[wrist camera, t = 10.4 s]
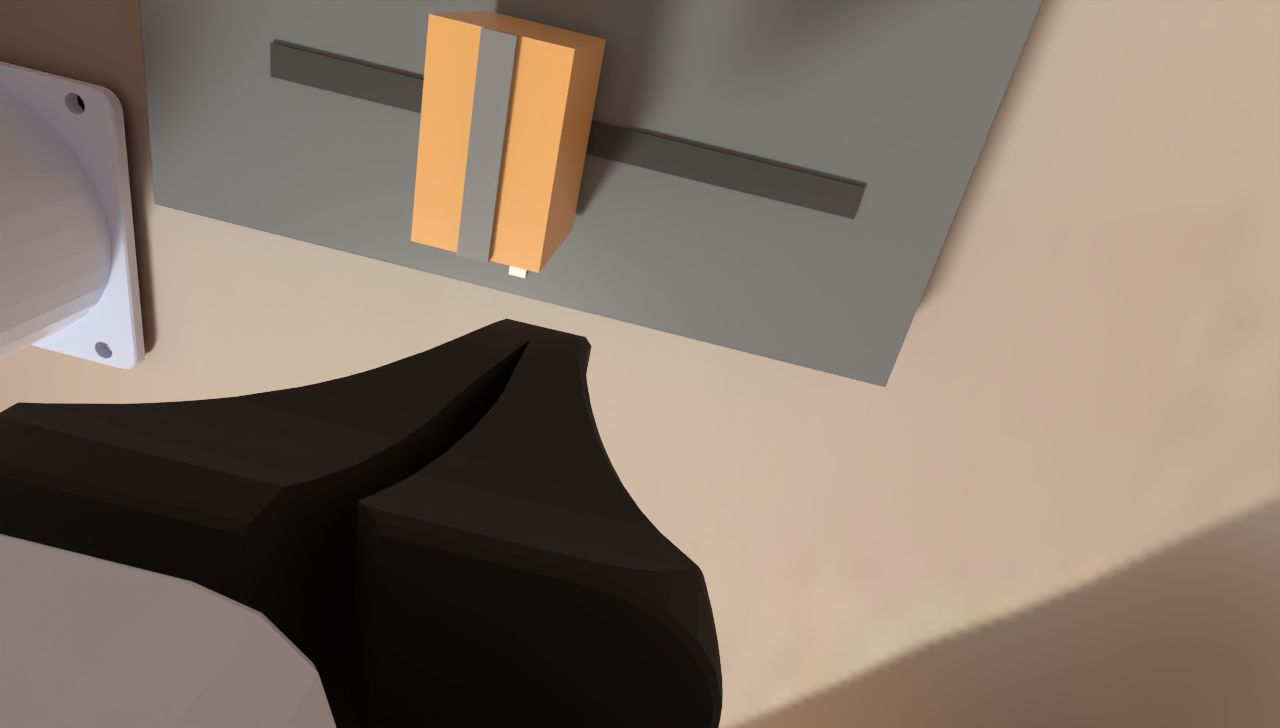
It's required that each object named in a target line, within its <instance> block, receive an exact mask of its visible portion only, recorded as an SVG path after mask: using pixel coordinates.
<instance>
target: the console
mask: <svg viewBox="0 0 1280 728" xmlns="http://www.w3.org/2000/svg"><path fill="white" fill-rule="evenodd" d="M1041 2H1042V0H139V3H140V16H141V30H142V43H143V56H144V69H145V82H146V96H147V109H148V122H149V135H150V148H151V162H152V175H153V188H154V201H155V204H157V205H161V206H165V207H169V208H173V209H177V210H181V211H185V212H189V213H193V214H197V215H201V216H205V217H209V218H213V219H217V220H221V221H225V222H229V223H233V224H236V225H240V226H244V227H248V228H252V229H256V230H260V231H264V232H268V233H272V234H276V235H280V236H284V237H288V238H292V239H296V240H300V241H304V242H308V243H312V244H316V245H320V246H324V247H328V248H332V249H336V250H340V251H344V252H348V253H352V254H356V255H360V256H364V257H368V258H372V259H376V260H380V261H384V262H388V263H392V264H396V265H400V266H404V267H408V268H412V269H416V270H420V271H424V272H428V273H432V274H436V275H440V276H444V277H448V278H452V279H456V280H460V281H464V282H468V283H472V284H476V285H480V286H484V287H488V288H492V289H496V290H500V291H504V292H508V293H512V294H516V295H520V296H524V297H528V298H532V299H536V300H540V301H544V302H548V303H552V304H556V305H560V306H564V307H568V308H572V309H576V310H580V311H584V312H588V313H592V314H596V315H600V316H604V317H608V318H612V319H616V320H620V321H624V322H628V323H632V324H636V325H640V326H643V327H647V328H651V329H655V330H659V331H663V332H667V333H671V334H675V335H679V336H683V337H687V338H691V339H695V340H699V341H703V342H707V343H711V344H715V345H719V346H723V347H727V348H731V349H735V350H739V351H743V352H747V353H751V354H755V355H759V356H763V357H767V358H771V359H775V360H779V361H783V362H787V363H791V364H795V365H799V366H803V367H807V368H811V369H815V370H819V371H823V372H827V373H831V374H835V375H839V376H843V377H847V378H851V379H855V380H859V381H863V382H867V383H871V384H875V385H879V386H883V387H885V386H886V384H887V381H888V379H889V377H890V374H891V372H892V369H893V367H894V364H895V362H896V359H897V357H898V354H899V352H900V349H901V347H902V345H903V342H904V340H905V337H906V335H907V332H908V330H909V327H910V325H911V322H912V320H913V317H914V315H915V313H916V310H917V308H918V305H919V303H920V300H921V298H922V295H923V293H924V290H925V288H926V285H927V283H928V280H929V278H930V276H931V273H932V271H933V268H934V266H935V263H936V261H937V258H938V256H939V253H940V251H941V248H942V246H943V244H944V241H945V239H946V236H947V234H948V231H949V229H950V226H951V224H952V221H953V219H954V216H955V214H956V212H957V209H958V207H959V204H960V202H961V199H962V197H963V194H964V192H965V189H966V187H967V184H968V182H969V179H970V177H971V175H972V172H973V170H974V167H975V165H976V162H977V160H978V157H979V155H980V152H981V150H982V147H983V145H984V143H985V140H986V138H987V135H988V133H989V130H990V128H991V125H992V123H993V120H994V118H995V115H996V113H997V111H998V108H999V106H1000V103H1001V101H1002V98H1003V96H1004V93H1005V91H1006V88H1007V86H1008V83H1009V81H1010V78H1011V76H1012V74H1013V71H1014V69H1015V66H1016V64H1017V61H1018V59H1019V56H1020V54H1021V51H1022V49H1023V46H1024V44H1025V42H1026V39H1027V37H1028V34H1029V32H1030V29H1031V27H1032V24H1033V22H1034V19H1035V17H1036V14H1037V12H1038V10H1039V7H1040V5H1041ZM480 10H487V11H491V12H495V13H499V14H503V15H507V16H512V17H516V18H520V19H524V20H528V21H532V22H536V23H541V24H545V25H549V26H553V27H557V28H561V29H566V30H570V31H574V32H578V33H582V34H586V35H591V36H595V37H599V38H603V39H606V43H605V49H604V54H603V60H602V66H601V71H600V77H599V83H598V88H597V94H596V99H595V105H594V111H593V116H592V122H591V128H590V133H589V139H588V145H587V150H586V156H585V162H584V167H583V173H582V179H581V184H580V190H579V196H578V201H577V207H576V213H575V218H574V224H573V229H572V231H571V232H570V233H569V235H568V236H567V237H566V238H565V240H564V241H563V242H562V244H561V245H560V246H559V248H558V249H557V250H556V251H555V253H554V254H553V255H552V257H551V258H550V259H549V260H548V262H547V263H546V264H545V266H544V267H543V268H542V269H541V271H540V272H539V273H537V272H533V271H529V270H525V269H521V268H517V267H513V266H509V265H505V264H501V263H497V262H493V261H489V262H488V263H484V262H480V261H476V260H472V259H468V258H464V257H460V256H457V252H453V251H449V250H445V249H441V248H437V247H433V246H429V245H425V244H421V243H417V242H413V241H411V233H412V221H413V208H414V195H415V183H416V170H417V158H418V145H419V132H420V120H421V107H422V94H423V82H424V69H425V57H426V44H427V31H428V19H429V14H434V13H449V12H465V11H480Z"/></svg>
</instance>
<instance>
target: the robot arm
mask: <svg viewBox="0 0 1280 728" xmlns="http://www.w3.org/2000/svg"><path fill="white" fill-rule="evenodd" d="M78 95H79V96H80V98H81V99H82V100H83V102H84V105H85V110H83V109H82V108H81V107H80V106H79V104H78V101H77V96H78ZM105 343H106V344H107V345H108V346H109V347H110V348H111V350H112V351H110V350H109V349H108V348H107V346H106V344H105ZM29 345H33V346H37V347H41V348H44V349H48V350H52V351H56V352H60V353H64V354H68V355H72V356H76V357H79V358H83V359H87V360H91V361H95V362H99V363H103V364H107V365H111V366H115V367H118V368H122V369H130V368H133V367H135V366H137V365H138V364H140V363H141V362H142V361H143V360H144V356H145V350H144V339H143V328H142V317H141V306H140V294H139V283H138V272H137V261H136V250H135V239H134V228H133V216H132V205H131V194H130V183H129V172H128V161H127V150H126V139H125V127H124V116H123V109H122V105H121V103H120V101H119V99H118V98H117V96H116V95H115V94H114V93H113V92H112V91H111V90H109V89H107V88H105V87H103V86H99V85H95V84H91V83H87V82H83V81H78V80H74V79H70V78H66V77H62V76H58V75H54V74H50V73H46V72H42V71H38V70H34V69H30V68H26V67H22V66H18V65H14V64H10V63H6V62H1V61H0V359H2V358H4V357H6V356H8V355H10V354H13V353H15V352H17V351H19V350H21V349H23V348H25V347H27V346H29ZM590 350H591V345H590V343H589V342H588V340H587V339H586V337H582V336H578V335H574V334H570V333H565V332H561V331H557V330H552V329H548V328H544V327H540V326H535V325H531V324H527V323H522V322H518V321H514V320H510V319H505V320H501V321H498V322H495V323H493V324H490V325H488V326H485V327H483V328H481V329H478V330H476V331H473V332H471V333H469V334H466V335H464V336H462V337H459V338H457V339H454V340H452V341H449V342H447V343H445V344H442V345H440V346H437V347H435V348H432V349H430V350H427V351H425V352H422V353H419V354H416V355H413V356H410V357H407V358H404V359H402V360H399V361H396V362H393V363H390V364H387V365H384V366H381V367H379V368H376V369H372V370H369V371H365V372H362V373H358V374H355V375H351V376H347V377H343V378H339V379H335V380H330V381H326V382H322V383H317V384H313V385H308V386H303V387H297V388H291V389H284V390H277V391H271V392H264V393H257V394H251V395H244V396H238V397H229V398H218V399H207V400H196V401H181V402H163V403H140V404H43V403H17V404H15V405H13V406H11V407H10V408H8V409H6V410H4V411H2V412H1V413H0V728H718V727H719V722H720V717H721V710H722V674H721V664H720V655H719V647H718V640H717V634H716V628H715V623H714V618H713V613H712V608H711V604H710V600H709V596H708V591H707V587H706V583H705V580H704V576H703V573H702V571H701V570H700V568H699V567H698V566H697V565H696V564H695V563H694V562H693V561H692V560H691V559H689V558H688V557H687V556H686V555H685V554H684V553H683V552H682V551H680V550H679V549H678V548H677V547H676V546H675V545H674V544H673V543H671V542H670V541H669V540H668V539H667V538H666V537H665V536H664V535H662V534H661V533H660V532H659V531H658V530H657V528H656V527H655V526H654V525H653V524H652V523H651V522H650V521H649V519H648V518H647V517H646V516H645V515H644V514H643V513H642V511H641V510H640V509H639V508H638V506H637V505H636V503H635V502H634V500H633V499H632V497H631V496H630V495H629V493H628V492H627V490H626V489H625V487H624V486H623V484H622V482H621V481H620V479H619V477H618V475H617V473H616V471H615V469H614V468H613V466H612V464H611V461H610V459H609V457H608V455H607V453H606V450H605V448H604V446H603V443H602V441H601V438H600V435H599V432H598V429H597V426H596V422H595V419H594V416H593V412H592V408H591V404H590V398H589V392H588V386H587V379H586V372H587V367H588V361H589V356H590Z"/></svg>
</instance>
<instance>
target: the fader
mask: <svg viewBox="0 0 1280 728" xmlns="http://www.w3.org/2000/svg"><path fill="white" fill-rule="evenodd" d="M605 43H606V39H603V38H599V37H595V36H591V35H586V34H582V33H578V32H574V31H570V30H566V29H561V28H557V27H553V26H549V25H545V24H541V23H536V22H532V21H528V20H524V19H520V18H516V17H512V16H507V15H503V14H499V13H495V12H491V11H487V10H480V11H465V12H449V13H434V14H429V19H428V31H427V44H426V57H425V69H424V82H423V94H422V107H421V120H420V132H419V145H418V158H417V170H416V183H415V195H414V208H413V221H412V233H411V241H413V242H417V243H421V244H425V245H429V246H433V247H437V248H441V249H445V250H449V251H453V252H457V256H460V257H464V258H468V259H472V260H476V261H480V262H484V263H488V262H489V261H493V262H497V263H501V264H505V265H509V266H513V267H517V268H521V269H525V270H529V271H533V272H537V273H539V272H540V271H541V269H542V268H543V267H544V266H545V264H546V263H547V262H548V260H549V259H550V258H551V257H552V255H553V254H554V253H555V251H556V250H557V249H558V248H559V246H560V245H561V244H562V242H563V241H564V240H565V238H566V237H567V236H568V235H569V233H570V232H571V231H572V229H573V224H574V218H575V213H576V207H577V201H578V196H579V190H580V184H581V179H582V173H583V167H584V162H585V156H586V150H587V145H588V139H589V133H590V128H591V122H592V116H593V111H594V105H595V99H596V94H597V88H598V83H599V77H600V71H601V66H602V60H603V54H604V49H605Z"/></svg>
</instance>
